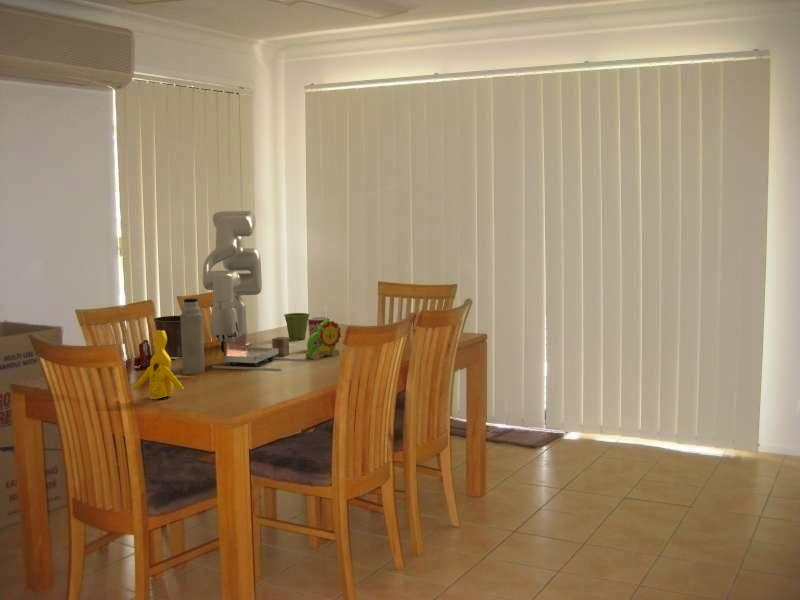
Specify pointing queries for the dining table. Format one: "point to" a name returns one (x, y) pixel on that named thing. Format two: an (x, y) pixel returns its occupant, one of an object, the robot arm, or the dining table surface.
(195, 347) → the thermos bottle
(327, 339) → the toy lion
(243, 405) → the dining table surface
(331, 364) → the dining table surface
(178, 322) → the plant pot
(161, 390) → the figure statuette
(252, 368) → the grey flat rectangular piece
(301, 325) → the plant pot
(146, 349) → the toy fire truck
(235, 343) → the grey l-shaped piece
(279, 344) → the walnut block
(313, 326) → the mug
